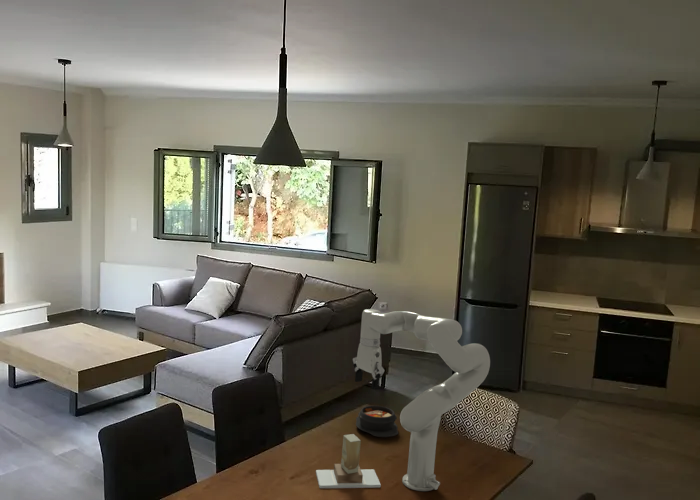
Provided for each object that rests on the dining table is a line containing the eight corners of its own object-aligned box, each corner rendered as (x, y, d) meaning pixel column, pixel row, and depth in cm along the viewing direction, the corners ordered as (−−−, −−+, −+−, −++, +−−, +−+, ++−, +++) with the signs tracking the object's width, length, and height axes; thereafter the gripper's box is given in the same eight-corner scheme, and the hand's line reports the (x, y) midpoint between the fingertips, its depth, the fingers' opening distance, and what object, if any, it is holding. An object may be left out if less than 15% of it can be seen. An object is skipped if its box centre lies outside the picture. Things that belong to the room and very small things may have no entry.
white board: (373, 471, 236) (374, 469, 236) (380, 487, 224) (380, 484, 224) (315, 472, 232) (315, 469, 232) (319, 488, 220) (319, 485, 220)
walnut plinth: (357, 471, 233) (358, 463, 233) (362, 482, 224) (362, 474, 224) (333, 471, 231) (334, 463, 231) (337, 483, 223) (337, 475, 222)
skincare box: (340, 466, 229) (342, 434, 228) (350, 465, 231) (353, 433, 230) (348, 474, 223) (350, 441, 222) (358, 472, 225) (361, 440, 224)
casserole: (346, 420, 285) (347, 402, 284) (383, 417, 292) (384, 400, 291) (368, 443, 262) (370, 423, 261) (408, 439, 269) (409, 420, 268)
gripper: (392, 346, 236) (389, 390, 238) (362, 335, 249) (359, 377, 251) (377, 348, 231) (374, 393, 233) (348, 337, 244) (345, 380, 246)
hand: (366, 384), depth 242 cm, fingers open, 9 cm apart
